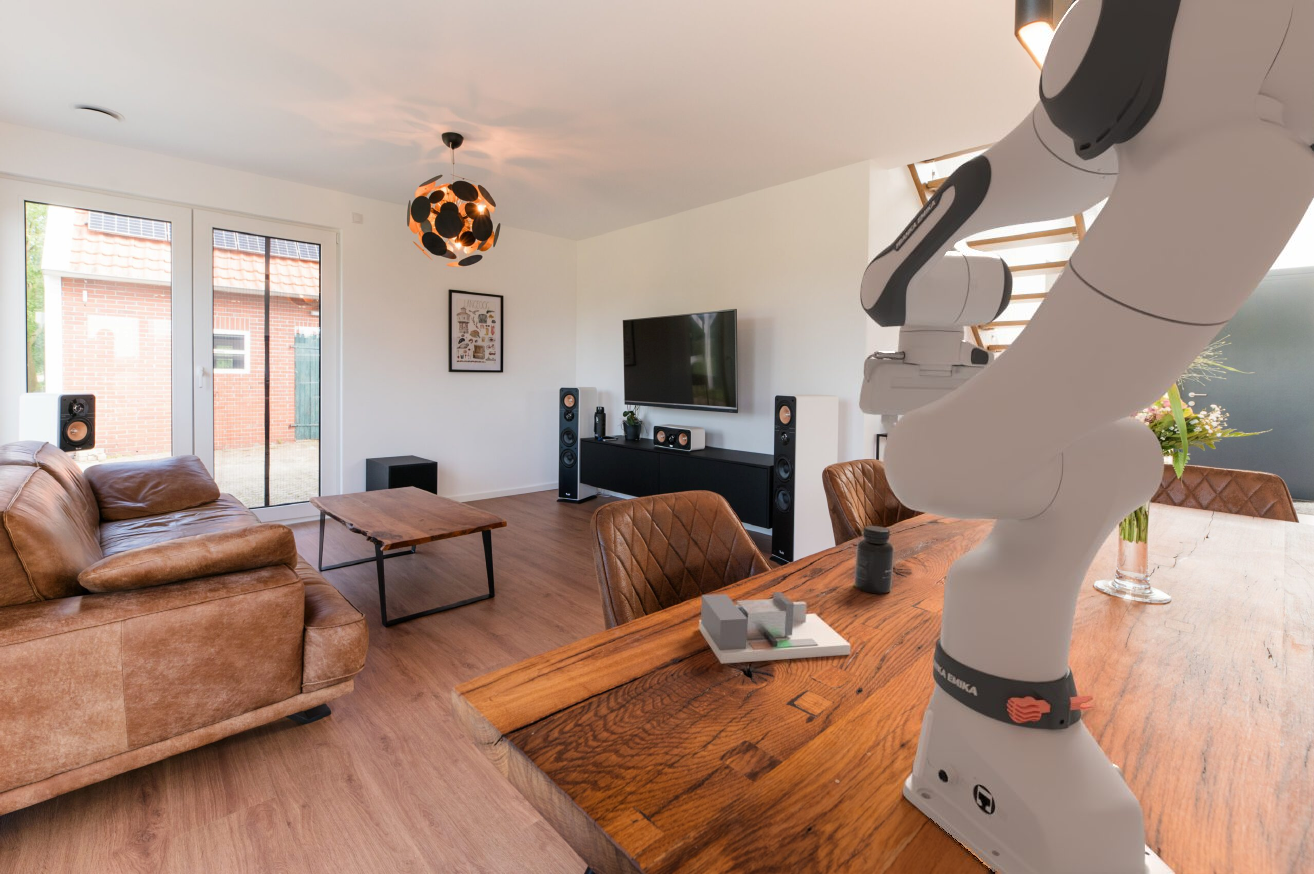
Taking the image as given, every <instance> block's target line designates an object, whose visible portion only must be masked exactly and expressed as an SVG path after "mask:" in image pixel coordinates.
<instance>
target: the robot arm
mask: <svg viewBox="0 0 1314 874" xmlns="http://www.w3.org/2000/svg"><path fill="white" fill-rule="evenodd" d="M1038 96H1039V100H1038V102H1037V103H1036V104H1035V106H1034V107H1033V108H1032V110H1030V112H1029V113H1028V114H1027V115H1026V117H1025V118H1024V119H1023V120H1022V121H1021V122H1020V123H1019V124H1018V125H1016V126H1015V128H1012V130H1011V131H1010V132H1009V133H1008V134H1007V135H1005V136H1004V137H1003V138H1002V139H1000V140H999V141H998V142H996V143H995V144H994V145H992V146H990V147H989V148H988V149H986V150H985V151H984V152H982V153H980V154H979V155H977V156H974V157H973V158H971V159H969V160H968V161H966V162H963V163H962V164H961V165H960V166H958V167H957V168H956V169H955V170H954V171H953V172H952V173H951V174H950V175H949V176H948V177H947V178H946V179H945V181H943V183H942V184H941V185H940V186H939V187H938V189H937V190H936V191H935V192H934V193H933V194H932V196H931V197H930V198H929V199H928V200H927V202H926V203H925V204H924V205H923V206H922V208H921V209H919V211H918V212H917V213H916V215H914V217H913V218H912V219H911V220H910V222H909V223H908V224H907V225H906V227H904V229H903V230H902V231H901V233H900V234H899V235H898V236H897V237H896V239H894V241H893V242H892V243H891V244H890V245H888V246H887V247H885V248H884V249H883V250H882V251H880V252H879V253H878V254H877V255H876V256H875V257H874V258H873V259H872V260H871V262H870V263H868V265H867V267H866V268H865V271H864V273H863V276H862V280H861V284H860V293H859V295H860V296H859V297H860V299H859V300H860V303H861V307H862V309H863V310H864V312H865V313H866V314H867V315H868V317H870V318H871V319H872V320H873V322H874V323H876V324H877V325H878V326H880V327H881V328H888V327H890V328H891V327H893V328H894V327H899V333H898V347H897V348H898V349H897V351H882V350H879V351H874V352H873V353H872V354H870V355H868V356H867V358H866V359H865V360H864V364H863V380H862V383H861V388H860V394H859V402H858V405H859V406H858V407H859V409H860V410H861V412H862V413H863V414H866V415H873V416H874V415H875V416H881V419H880V423H881V424H882V426H883V429H884V430H885V432H886V434H887V436H886V438H887V439H886V441H885V445H884V449H883V457H882V458H883V461H882V462H883V470H884V474H885V478H886V482H887V483H888V486H889V488H890V490H891V492H892V493H893V494H894V496H895V497H896V499H898V501H899V502H900V503H901V504H902V505H903V506H904V507H906V508H907V509H910V510H912V511H915V512H920V513H925V514H930V515H932V516H933V515H934V516H938V517H943V518H944V517H945V518H950V519H953V520H954V519H955V520H995V522H994V525H993V526H992V528H991V530H990V531H989V533H987V535H986V537H985V538H983V540H982V541H981V542H980V543H979V544H978V545H976V546H975V547H973V548H972V549H970V550H969V551H968V552H966V553H964V554H961V556H959V557H958V558H957V559H955V560H954V562H953V563H952V564H951V566H949V568H948V571H947V573H946V575H945V579H944V591H943V604H942V616H941V627H940V629H941V630H940V637H939V638H938V639H937V640H936V642H935V646H934V647H935V649H934V652H933V656H932V664H933V668H932V676H933V677H932V678H933V680H934V681H935V683H934V684H935V685H934V689H933V692H932V694H931V697H930V699H929V701H928V702H929V703H928V704H927V707H926V708H925V711H924V714H923V717H922V718H923V719H922V722H921V728H920V732H919V738H918V742H917V747H916V749H917V750H916V754H915V758H914V760H913V762H912V763H913V764H912V772H911V773H910V774H909V775H908V777H907V778H906V779H905V781H904V783H903V789H902V794H903V796H904V797H905V798H906V800H907V801H909V802H910V803H911V804H912V805H913V806H915V807H916V808H917V809H918V810H919V811H920V812H921V813H923V814H924V815H925V816H927V817H928V818H929V819H930V818H931V819H932V820H933V821H935V822H934V823H935V824H936V823H937V824H938V825H939V826H940V827H939V826H938V825H937V824H936V825H937V826H938V827H939V828H941V827H942V828H943V829H944V830H945V831H946V832H947V833H946V832H945V831H944V830H943V829H942V828H941V829H942V830H943V831H944V832H945V833H946V834H948V833H949V834H950V835H952V836H953V837H954V838H955V839H957V840H958V841H960V842H962V843H963V844H964V845H965V846H967V848H969V849H971V851H972V852H973V853H975V854H976V855H977V856H978V857H979V858H981V860H983V862H985V863H986V864H987V865H988V866H990V867H991V868H993V869H995V871H997V872H999V873H1001V874H1176V873H1175V871H1173V870H1172V869H1171V868H1170V867H1169V866H1168V864H1166V862H1164V861H1163V859H1162V858H1161V857H1159V856H1158V855H1157V854H1156V853H1155V852H1154V851H1153V850H1152V849H1151V848H1150V847H1149V846H1148V845H1147V844H1146V834H1145V832H1146V831H1145V830H1146V829H1145V821H1144V815H1143V810H1142V806H1141V804H1140V802H1139V800H1138V798H1137V796H1136V795H1135V794H1134V793H1133V791H1132V790H1131V788H1130V787H1129V786H1128V784H1127V783H1126V778H1125V776H1124V773H1123V771H1122V770H1121V768H1120V767H1119V766H1118V765H1117V764H1115V763H1113V762H1111V761H1110V759H1109V758H1108V756H1107V755H1106V754H1105V752H1104V751H1103V749H1102V748H1101V747H1100V745H1099V744H1098V741H1096V740H1095V737H1094V736H1093V735H1092V733H1091V732H1090V731H1089V729H1088V728H1087V726H1086V725H1085V724H1084V722H1083V720H1082V719H1081V718H1082V710H1086V709H1092V708H1093V705H1091V704H1086V703H1088V702H1090V701H1092V700H1094V696H1093V695H1083V696H1082V695H1081V696H1078V692H1077V688H1076V684H1075V679H1074V675H1073V672H1072V669H1071V668H1070V666H1069V657H1070V651H1071V650H1070V649H1071V641H1072V633H1073V627H1074V619H1075V615H1076V608H1077V602H1078V599H1079V598H1078V597H1079V594H1080V592H1081V588H1082V585H1083V583H1084V580H1085V578H1086V575H1087V573H1088V571H1089V569H1090V567H1091V566H1092V564H1093V561H1094V560H1095V558H1096V556H1097V555H1098V552H1099V551H1100V550H1101V548H1102V547H1103V545H1104V544H1105V542H1106V541H1107V539H1108V538H1109V537H1110V535H1111V534H1112V533H1113V532H1114V530H1115V529H1116V528H1117V527H1118V526H1119V525H1120V524H1121V522H1123V521H1124V520H1125V519H1126V518H1127V517H1128V516H1129V515H1131V514H1132V513H1134V512H1135V511H1136V510H1138V509H1139V508H1141V507H1143V506H1144V505H1146V504H1147V503H1148V502H1149V501H1151V499H1152V498H1154V496H1155V494H1156V493H1157V491H1158V490H1159V488H1160V486H1161V483H1162V480H1163V477H1164V470H1165V458H1164V453H1163V449H1162V445H1161V443H1160V441H1159V438H1158V437H1157V435H1156V434H1155V432H1154V431H1153V430H1152V429H1151V428H1150V427H1149V426H1148V425H1147V424H1146V423H1144V421H1142V420H1140V419H1138V418H1137V417H1136V418H1135V417H1132V416H1134V415H1135V414H1138V413H1140V412H1142V411H1144V410H1145V409H1147V408H1149V407H1151V406H1152V405H1154V404H1155V403H1156V402H1158V401H1159V400H1160V399H1162V398H1163V397H1164V396H1165V395H1166V394H1167V393H1168V391H1169V390H1171V388H1172V387H1173V386H1174V384H1175V383H1176V382H1177V381H1178V380H1179V379H1180V377H1182V375H1183V374H1185V372H1186V371H1187V370H1188V369H1189V368H1190V367H1191V365H1192V364H1193V363H1194V362H1195V361H1196V360H1197V358H1198V357H1199V356H1201V354H1202V352H1203V351H1204V350H1205V349H1206V348H1207V347H1208V345H1209V344H1210V343H1212V341H1213V340H1214V339H1215V337H1216V336H1217V335H1218V334H1219V333H1220V332H1221V330H1222V329H1224V327H1225V326H1226V325H1227V324H1228V323H1229V322H1230V320H1231V319H1232V318H1233V317H1234V316H1235V315H1236V313H1238V311H1239V310H1240V308H1241V307H1242V306H1243V305H1244V304H1245V302H1246V301H1247V300H1248V299H1249V298H1250V296H1251V295H1252V294H1253V293H1254V291H1255V290H1256V288H1257V287H1258V286H1259V285H1260V283H1261V282H1262V280H1263V279H1264V278H1265V277H1266V276H1267V274H1268V272H1269V271H1270V270H1271V268H1272V267H1273V266H1274V264H1275V262H1276V261H1277V259H1278V258H1279V256H1280V255H1281V254H1282V252H1283V251H1284V249H1285V248H1286V246H1287V245H1288V243H1289V241H1290V240H1291V238H1292V237H1293V234H1295V231H1296V230H1297V228H1298V226H1299V225H1300V223H1301V222H1302V219H1303V218H1304V216H1305V215H1306V213H1307V211H1308V209H1309V207H1310V205H1311V204H1312V201H1313V200H1314V0H1073V1H1072V2H1071V4H1070V5H1069V6H1068V8H1067V10H1066V11H1065V13H1064V14H1063V17H1062V19H1061V20H1060V22H1059V24H1058V25H1057V27H1056V29H1055V30H1054V33H1053V35H1052V37H1051V39H1050V41H1049V44H1048V46H1047V50H1046V53H1045V56H1044V60H1043V64H1042V68H1041V72H1040V78H1039V84H1038ZM1107 198H1108V199H1107ZM1106 199H1107V200H1106ZM1105 200H1106V202H1105V203H1104V206H1103V207H1102V208H1101V210H1100V211H1099V213H1098V214H1097V216H1096V217H1095V219H1094V220H1093V222H1092V223H1091V225H1090V226H1089V228H1087V231H1086V232H1085V233H1084V235H1083V236H1082V237H1081V239H1080V241H1079V242H1078V243H1077V245H1076V247H1075V249H1074V250H1073V252H1072V254H1071V255H1070V256H1069V258H1068V260H1067V262H1066V264H1065V265H1064V267H1063V268H1062V270H1061V272H1060V273H1059V275H1057V278H1056V279H1055V282H1053V284H1052V286H1051V287H1050V289H1049V290H1048V292H1047V294H1046V296H1045V297H1044V299H1043V300H1042V301H1041V303H1040V305H1039V306H1038V307H1037V309H1036V311H1035V312H1034V313H1033V315H1032V316H1031V318H1030V319H1029V321H1028V322H1027V323H1026V325H1025V327H1024V328H1023V329H1022V331H1021V332H1020V333H1019V335H1018V336H1017V337H1016V338H1015V339H1013V341H1012V342H1011V343H1010V344H1009V346H1007V347H1006V348H1005V349H1004V350H1003V351H1002V352H1001V353H1000V354H999V355H998V356H996V358H995V354H994V352H993V351H990V350H988V349H986V348H983V347H981V346H978V345H976V344H974V343H972V342H970V341H969V340H965V328H964V327H977V326H982V325H983V326H984V325H989V324H991V323H992V322H994V321H995V320H997V319H998V318H999V317H1000V316H1001V315H1002V314H1003V313H1004V312H1005V310H1006V309H1008V306H1009V305H1010V302H1011V299H1012V293H1013V285H1014V283H1013V282H1014V281H1013V275H1012V272H1011V269H1010V267H1009V266H1008V264H1007V263H1006V260H1004V259H1003V258H1002V257H1001V256H1000V255H999V254H993V253H988V252H985V251H984V252H983V251H980V250H975V249H972V248H970V247H969V244H968V243H967V241H966V240H965V239H966V238H968V237H970V236H973V235H976V234H979V233H983V232H987V231H989V230H994V229H998V228H1000V229H1001V228H1005V227H1010V226H1016V225H1024V224H1031V223H1040V222H1046V221H1047V222H1048V221H1055V220H1061V219H1066V218H1070V217H1074V216H1077V215H1079V214H1082V213H1085V212H1086V211H1088V210H1090V209H1092V208H1093V207H1095V206H1096V205H1098V204H1099V203H1101V202H1103V201H1105ZM899 416H901V417H900V418H899ZM898 418H899V420H898ZM931 819H930V820H931ZM932 820H931V821H932ZM933 821H932V822H933ZM949 834H948V835H949ZM950 835H949V836H950ZM955 839H954V840H955Z"/></svg>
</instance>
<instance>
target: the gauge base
mask: <svg viewBox="0 0 1314 874" xmlns="http://www.w3.org/2000/svg"><path fill="white" fill-rule="evenodd" d="M792 602H793V603H794V609H793V628H792V635H791V636H785V637H774V638H775V639H776V640H777V647H772V646H771V644H770V643H769V642H768V641H767V640H766V639H765V638H753V639H747V638H746V637H747V618H746V617H745V615H744V614H743V613H742V612H741V611H740V610H739V609H738V607H737V604H735V602H733V600H732V599H731V598H730V597H729V595H728V594H727V593H719V594H718V593H717V594H701V612H700V613H701V615H700V619H699V620H698V630H699V631H700V633H701V634H702V636H703V638H704V639H705V641H706V642H707V644H708V645H709V647H710V649H711V650H712V652H713V653H714V655H715V656H716V657H717V659H718V661H719V663H720V664H734V663H747V662H748V663H749V662H762V661H763V662H764V661H776V660H777V661H778V660H789V659H790V660H792V659H802V658H803V659H805V658H818V657H820V658H821V657H835V656H846V655H847V656H849V655H851V647H852V646H851V644H850V643H849V642H848V641H847V640H846V639H845V638H843V636H841V635H840V634H839V633H837V631H835V629H833V628H832V627H831V626H829V625H828V624H827V623H826V622H825V621H824V620H823V619H821V618H820V617H819V615H817V614H816V613H807V605H808V604H807V603H806V601H792Z"/></svg>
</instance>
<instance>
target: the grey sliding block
mask: <svg viewBox="0 0 1314 874" xmlns="http://www.w3.org/2000/svg"><path fill="white" fill-rule="evenodd" d="M772 597H773V598H767V599H766V598H765V599H745V600H744V599H743V600H737V601H736V605H737V607H738V609H739V610H740V611H741V612H742V613H743V614H744V615H745V617H746V618H747V637H746V638H747V639H753V638H765V639H766V640H767V641H768V642H769V643H770V644H771V646H772V647H777V640H776V639H775V638H774V637H785V636H791V635H792V628H793V609H794V603H793V602H794V601H791V599H789V598H788V597H787V595H785V594H784V593H783V592H781V591H773V596H772Z"/></svg>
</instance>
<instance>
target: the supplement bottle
mask: <svg viewBox="0 0 1314 874" xmlns="http://www.w3.org/2000/svg"><path fill="white" fill-rule="evenodd" d="M890 532H891V531H890V529H889V528H887V527H884V526H877V525H868V526H867V525H866V526H864V527H863V533H862V538H863V539H861V540H859V541H858V543H857V544H856V545H857V546H856V555H855V556H856V558H855V567H854V568H855V572H854V586H855V587H856V589H858V590H860V591H862V592H865V593H868V594H875V595H876V594H878V595H879V594H882V595H883V594H888V593H889V592H890V591H891V588H892V581H893V580H892V579H893V568H894V567H893V566H894V558H895V557H894V555H895V553H894V552H895V548H894V546H893V545H892V544H891V542H889V541H890V539H891V538H890V535H891V533H890Z"/></svg>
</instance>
